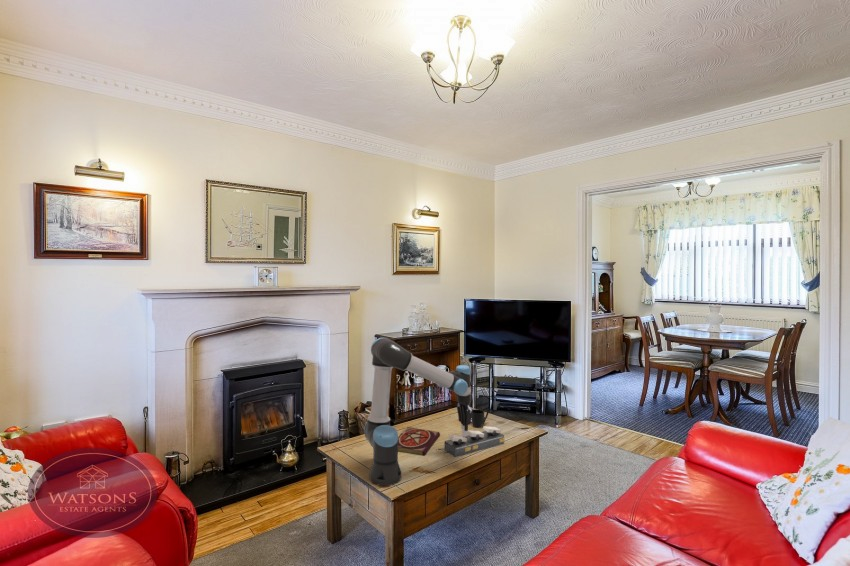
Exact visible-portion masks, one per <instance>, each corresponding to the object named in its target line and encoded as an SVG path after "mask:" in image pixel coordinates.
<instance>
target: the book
mask: <svg viewBox="0 0 850 566" xmlns="http://www.w3.org/2000/svg"><path fill="white" fill-rule="evenodd" d="M440 436H441V433H440V431H435V430H429V429H424V428H417V427H412V426H411V427H410V426H407V427H406V428H405V429H404V430H403V431H401V433H400V434H399V435H398V452H404V453H409V454H414V455H415V454H416V455H421V456H423V457H425V456H426V454H427V453H428V452H429V450H430V449H431V448H432V447H433V445H434V444H435V442H436V441H438V439H439V437H440Z"/></svg>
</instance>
